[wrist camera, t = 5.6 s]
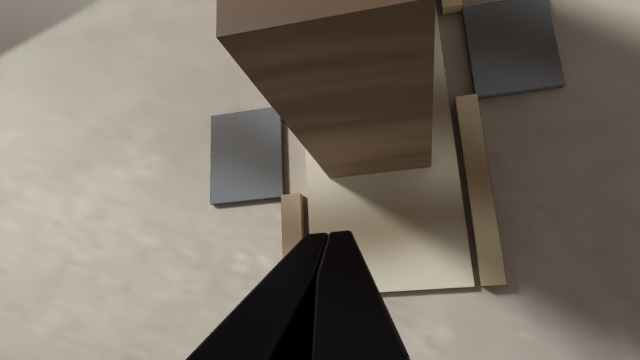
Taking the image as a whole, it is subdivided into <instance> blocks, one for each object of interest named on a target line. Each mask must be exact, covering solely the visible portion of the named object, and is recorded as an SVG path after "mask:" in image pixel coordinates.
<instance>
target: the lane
mask: <svg viewBox="0 0 640 360" xmlns="http://www.w3.org/2000/svg"><path fill="white" fill-rule="evenodd" d="M440 1H441V8H442V15H445V14H451V13H456V12H462V14H463V20H464V27H465V33H466V40H467V46H468V52H469V59H470V65H471V72H472V78H473V85H474V91H475V94H470V95H463V96H456V97H455V107H456V114H457V121H458V128H459V135H460V142H461V149H462V156H463V163H464V170H465V177H466V184H467V191H468V198H469V205H470V212H471V219H472V226H473V233H474V241H475V248H476V255H477V262H478V269H479V276H480V283H481V286H497V285H507V282H506V276H505V269H504V263H503V257H502V250H501V244H500V238H499V231H498V225H497V218H496V212H495V206H494V199H493V193H492V187H491V180H490V174H489V167H488V161H487V155H486V148H485V142H484V136H483V129H482V123H481V116H480V110H479V104H478V98H485V97H492V96H499V95H506V94H514V93H521V92H528V91H535V90H543V89H550V88H557V87H563V86H564V85H565V82H564V77H563V73H562V68H561V63H560V59H559V54H558V49H557V45H556V40H555V35H554V31H553V26H552V21H551V17H550V12H549V7H548V3H547V0H505V1H499V2H494V3H488V4H482V5H477V6H471V7H465V8H463V2H462V0H440ZM305 150H306V148H305ZM306 173H307V195H308V217H309V234H312V233H324V232H325V233H327V234H328V235H329V233H330V232H335V231H346V230H349V231H351V232H352V234H353V236H354V238H355V240H356V242H357V245H358V247H359V249H360V251H361V253H362V255H363V258H364V260H365V262H366V264H367V266H368V268H369V270H370V273H371V275H372V277H373V279H374V281H375V283H376V286H377V288H378V290H379V292H393V291H410V290H427V289H445V288H462V287H475V286H474V278H473V271H472V264H471V257H470V249H469V242H468V235H467V228H466V220H465V213H464V206H463V199H462V191H461V184H460V177H459V170H458V162H457V155H456V148H455V141H454V134H453V126H452V119H451V112H450V105H449V97H448V90H447V83H446V76H445V68H444V61H443V54H442V47H441V39H440V32H439V25H438V18H437V10H436V3H435V43H434V82H433V122H432V161H431V167H428V168H419V169H410V170H401V171H391V172H382V173H373V174H364V175H355V176H346V177H337V178H329V177H328V176H327V175H326V173H325V172H324V171H323V170H322V168H321V167H320V166H319V165H318V163H317V162H316V161H315V160H314V158H313V157H312V156H311V155H310V153H309V152H308V151H307V150H306ZM275 198H281V215H282V249H283V258H284V257H285V256H286V255H287V253H288V252H289V251H290V250H291V249H292V248H293V247H294V246H295V245H296V244H297V243H298V242H299V241H300V240H301V239H302V238H303V237H304V236H305V226H304V202H303V195H302V194H301V193H295V194H286V195H284V166H283V134H282V118H281V117H280V116H279V115H278V113H277V112H276V111H275V110H274V108H273V107H270V108H264V109H257V110H250V111H243V112H236V113H229V114H223V115H216V116H211V174H210V204H211V205H218V204H227V203H237V202H247V201H256V200H266V199H275Z"/></svg>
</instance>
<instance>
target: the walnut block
mask: <svg viewBox="0 0 640 360" xmlns="http://www.w3.org/2000/svg"><path fill="white" fill-rule="evenodd" d="M435 3H436V0H217V26H216V37H217V39H218V40H219V41H220V42H221V44H222V45H223V46H224V47H225V49H226V50H227V51H228V52H229V54H230V55H231V56H232V57H233V59H234V60H235V61H236V62H237V64H238V65H239V66H240V67H241V69H242V70H243V71H244V72H245V74H246V75H247V76H248V77H249V79H250V80H251V81H252V82H253V83H254V85H255V86H256V87H257V88H258V90H259V91H260V92H261V93H262V95H263V96H264V97H265V98H266V100H267V101H268V102H269V103H270V105H271V106H272V107H273V108H274V110H275V111H276V112H277V113H278V115H279V116H280V117H281V118H282V120H283V121H284V122H285V123H286V125H287V126H288V127H289V128H290V130H291V131H292V132H293V133H294V135H295V136H296V137H297V138H298V140H299V141H300V142H301V143H302V145H303V146H304V147H305V148H306V150H307V151H308V152H309V153H310V155H311V156H312V157H313V158H314V160H315V161H316V162H317V163H318V165H319V166H320V167H321V168H322V170H323V171H324V172H325V173H326V175H327V176H328V177H329V178H337V177H346V176H355V175H364V174H373V173H382V172H391V171H401V170H410V169H419V168H428V167H431V161H432V122H433V82H434V43H435Z"/></svg>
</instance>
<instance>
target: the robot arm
mask: <svg viewBox="0 0 640 360" xmlns="http://www.w3.org/2000/svg"><path fill="white" fill-rule="evenodd" d="M186 360H410V358H409V355H408V353H407V351H406V348H405V346H404V344H403V342H402V340H401V338H400V335H399V333H398V331H397V329H396V327H395V325H394V322H393V320H392V318H391V316H390V314H389V312H388V309H387V307H386V305H385V303H384V301H383V299H382V296H381V294H380V292H379V290H378V288H377V286H376V283H375V281H374V279H373V277H372V275H371V273H370V270H369V268H368V266H367V264H366V262H365V260H364V258H363V255H362V253H361V251H360V249H359V247H358V245H357V242H356V240H355V238H354V236H353V234H352V232H351V231H349V230H346V231H335V232H330V233H329V235H328V234H327V233H325V232H324V233H312V234H307V235H305V236H304V237H303V238H302V239H301V240H300V241H299V242H298V243H297V244H296V245H295V246H294V247H293V248H292V249H291V250H290V251H289V252H288V253H287V255H286V256H285V257H284V258H283V259H282V260H281V261H280V262H279V263H278V264H277V265H276V266H275V267H274V268H273V269H272V270H271V271H270V272H269V273H268V274H267V275H266V276H265V277H264V278H263V280H262V281H261V282H260V283H259V284H258V285H257V286H256V287H255V288H254V289H253V290H252V291H251V292H250V293H249V294H248V295H247V296H246V297H245V298H244V299H243V300H242V301H241V302H240V303H239V304H238V306H237V307H236V308H235V309H234V310H233V311H232V312H231V313H230V314H229V315H228V316H227V317H226V318H225V319H224V320H223V321H222V322H221V323H220V324H219V325H218V326H217V327H216V328H215V329H214V331H213V332H212V333H211V334H210V335H209V336H208V337H207V338H206V339H205V340H204V341H203V342H202V343H201V344H200V345H199V346H198V347H197V348H196V349H195V350H194V351H193V352H192V353H191V354H190V356H189V357H188V358H187V359H186Z"/></svg>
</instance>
